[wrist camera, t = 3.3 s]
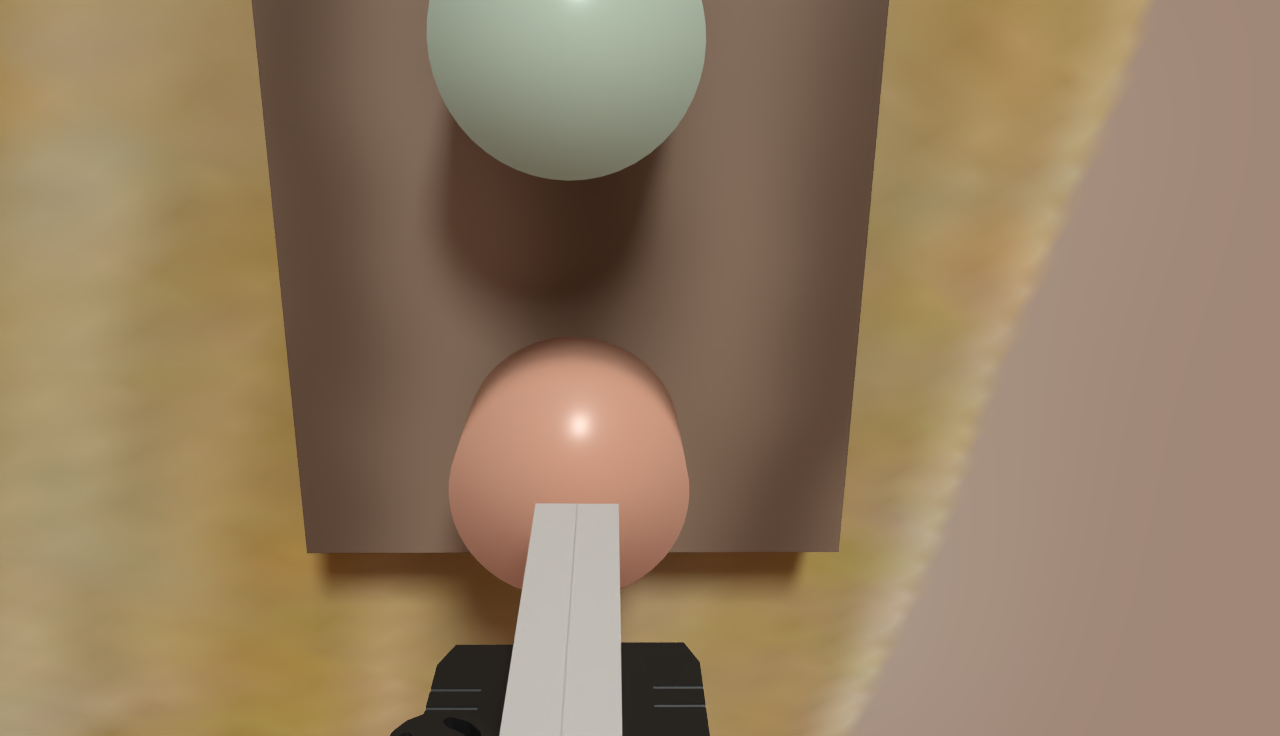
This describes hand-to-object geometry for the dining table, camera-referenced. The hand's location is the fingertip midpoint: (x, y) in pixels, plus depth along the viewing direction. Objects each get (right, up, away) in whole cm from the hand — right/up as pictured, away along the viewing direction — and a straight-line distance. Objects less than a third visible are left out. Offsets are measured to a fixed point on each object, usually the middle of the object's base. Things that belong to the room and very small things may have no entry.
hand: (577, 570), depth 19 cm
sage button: (0, +11, +3) cm, 11 cm away
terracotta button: (0, +2, +5) cm, 6 cm away
